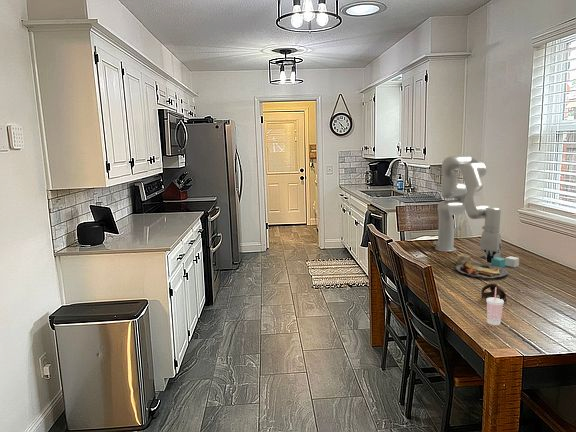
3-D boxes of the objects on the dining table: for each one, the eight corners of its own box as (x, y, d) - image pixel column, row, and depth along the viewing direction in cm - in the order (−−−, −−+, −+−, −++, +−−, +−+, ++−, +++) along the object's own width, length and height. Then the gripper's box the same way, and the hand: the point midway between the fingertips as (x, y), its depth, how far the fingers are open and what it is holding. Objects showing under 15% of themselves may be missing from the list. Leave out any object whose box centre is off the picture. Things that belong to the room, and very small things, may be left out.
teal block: (490, 266, 238) (491, 258, 237) (496, 265, 241) (496, 257, 240) (499, 268, 234) (500, 260, 233) (504, 267, 237) (505, 259, 236)
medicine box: (497, 256, 258) (498, 242, 257) (500, 258, 254) (501, 244, 253) (483, 256, 259) (484, 242, 258) (486, 258, 255) (487, 243, 253)
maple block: (457, 263, 246) (457, 255, 245) (462, 261, 249) (462, 254, 248) (465, 265, 242) (465, 257, 241) (470, 263, 245) (470, 255, 244)
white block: (504, 265, 240) (505, 257, 239) (509, 264, 243) (510, 256, 242) (514, 267, 236) (514, 259, 235) (518, 265, 239) (519, 258, 238)
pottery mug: (509, 306, 182) (500, 290, 181) (486, 312, 187) (478, 297, 186) (507, 290, 193) (499, 275, 191) (486, 296, 197) (478, 282, 196)
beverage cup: (505, 323, 165) (508, 287, 162) (497, 327, 161) (499, 291, 159) (490, 318, 170) (492, 283, 167) (481, 321, 166) (483, 287, 164)
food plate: (447, 273, 228) (448, 266, 227) (464, 264, 244) (465, 258, 244) (498, 284, 211) (498, 277, 210) (512, 273, 228) (513, 267, 227)
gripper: (475, 228, 242) (473, 260, 245) (501, 232, 230) (499, 266, 233) (482, 226, 246) (481, 258, 249) (508, 231, 234) (506, 263, 237)
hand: (489, 262), depth 241 cm, fingers closed
